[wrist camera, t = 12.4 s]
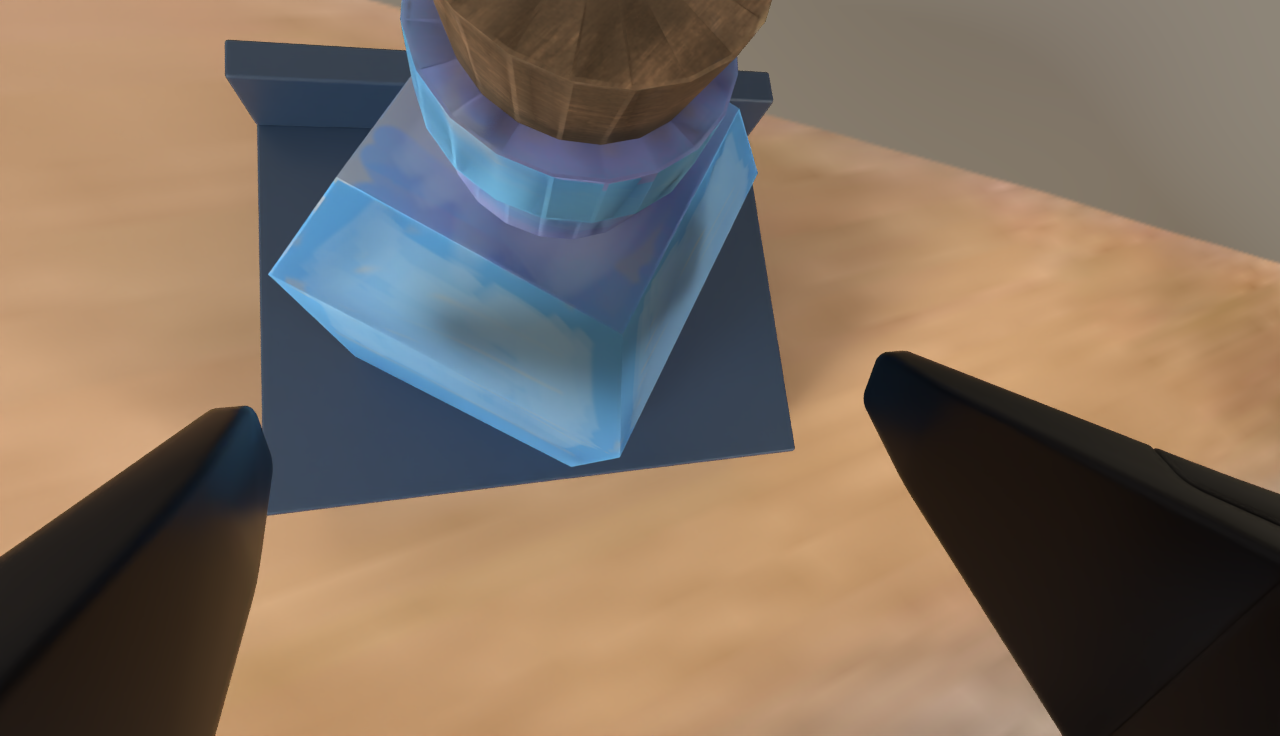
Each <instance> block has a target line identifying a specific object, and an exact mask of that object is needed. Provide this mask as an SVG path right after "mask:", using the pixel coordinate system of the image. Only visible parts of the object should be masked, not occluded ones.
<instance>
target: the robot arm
mask: <svg viewBox="0 0 1280 736" xmlns="http://www.w3.org/2000/svg"><path fill="white" fill-rule="evenodd" d="M864 405H865V408H866V410H867V412H868V414H869V416H870V418H871V420H872V422H873V424H874V426H875V428H876V430H877V432H878V434H879V436H880V438H881V440H882V442H883V444H884V446H885V448H886V450H887V452H888V454H889V456H890V458H891V460H892V462H893V464H894V466H895V468H896V470H897V472H898V474H899V476H900V478H901V479H902V481H903V483H904V485H905V487H906V488H907V490H908V492H909V493H910V495H911V497H912V498H913V500H914V501H915V503H916V505H917V506H918V508H919V509H920V511H921V512H922V514H923V516H924V517H925V519H926V520H927V522H928V524H929V525H930V527H931V528H932V530H933V531H934V533H935V535H936V536H937V538H938V539H939V541H940V543H941V544H942V546H943V547H944V549H945V550H946V552H947V554H948V555H949V557H950V558H951V560H952V562H953V563H954V565H955V566H956V568H957V569H958V571H959V573H960V574H961V576H962V577H963V579H964V580H965V582H966V584H967V585H968V587H969V588H970V590H971V592H972V593H973V595H974V596H975V598H976V599H977V601H978V603H979V604H980V606H981V607H982V609H983V611H984V612H985V614H986V615H987V617H988V618H989V620H990V622H991V623H992V625H993V626H994V628H995V630H996V631H997V633H998V634H999V636H1000V637H1001V639H1002V641H1003V642H1004V644H1005V645H1006V647H1007V649H1008V650H1009V652H1010V653H1011V655H1012V656H1013V658H1014V660H1015V661H1016V663H1017V664H1018V666H1019V668H1020V669H1021V671H1022V672H1023V674H1024V675H1025V677H1026V679H1027V680H1028V682H1029V683H1030V685H1031V686H1032V688H1033V690H1034V691H1035V693H1036V694H1037V696H1038V698H1039V699H1040V701H1041V702H1042V704H1043V705H1044V707H1045V709H1046V710H1047V712H1048V713H1049V715H1050V717H1051V718H1052V720H1053V721H1054V723H1055V724H1056V726H1057V728H1058V729H1059V731H1060V732H1061V734H1062V736H1280V494H1278V493H1275V492H1272V491H1270V490H1267V489H1264V488H1261V487H1259V486H1256V485H1253V484H1250V483H1247V482H1245V481H1242V480H1239V479H1236V478H1233V477H1231V476H1228V475H1226V474H1223V473H1220V472H1218V471H1215V470H1212V469H1210V468H1207V467H1204V466H1202V465H1199V464H1196V463H1194V462H1191V461H1189V460H1186V459H1183V458H1181V457H1178V456H1176V455H1173V454H1170V453H1168V452H1165V451H1163V450H1160V449H1157V448H1155V449H1153V448H1152V447H1151V446H1149V445H1147V444H1145V443H1142V442H1139V441H1137V440H1134V439H1132V438H1129V437H1127V436H1124V435H1121V434H1119V433H1116V432H1114V431H1111V430H1109V429H1106V428H1103V427H1101V426H1098V425H1096V424H1093V423H1091V422H1088V421H1085V420H1083V419H1080V418H1078V417H1075V416H1073V415H1070V414H1067V413H1065V412H1062V411H1060V410H1057V409H1055V408H1052V407H1050V406H1047V405H1044V404H1042V403H1039V402H1037V401H1034V400H1032V399H1029V398H1026V397H1024V396H1021V395H1019V394H1016V393H1014V392H1011V391H1008V390H1006V389H1003V388H1001V387H998V386H996V385H993V384H990V383H988V382H985V381H983V380H980V379H978V378H975V377H972V376H970V375H967V374H965V373H962V372H960V371H957V370H955V369H952V368H949V367H947V366H944V365H942V364H939V363H937V362H934V361H931V360H929V359H926V358H924V357H921V356H919V355H916V354H913V353H911V352H908V351H894V352H885V353H883V354H881V355H880V356H879V357H878V358H877V360H876V362H875V365H874V367H873V370H872V373H871V375H870V378H869V381H868V384H867V386H866V389H865V392H864ZM272 474H273V463H272V457H271V453H270V450H269V448H268V445H267V442H266V439H265V436H264V434H263V431H262V428H261V425H260V422H259V419H258V417H257V414H256V413H255V411H254V410H253V409H252V408H250V407H248V406H237V407H225V408H215V409H212V410H210V411H208V412H206V413H205V414H204V415H202V416H201V417H199V418H198V419H196V420H195V421H194V422H192V423H191V424H189V425H188V426H186V427H185V428H184V429H182V430H181V431H179V432H178V433H176V434H175V435H174V436H172V437H171V438H169V439H168V440H166V441H165V442H164V443H162V444H161V445H159V446H158V447H156V448H155V449H154V450H152V451H151V452H149V453H148V454H146V455H145V456H144V457H142V458H141V459H139V460H138V461H136V462H135V463H134V464H132V465H131V466H129V467H128V468H126V469H125V470H124V471H122V472H121V473H119V474H118V475H116V476H115V477H114V478H112V479H111V480H109V481H108V482H106V483H105V484H104V485H102V486H101V487H99V488H98V489H96V490H95V491H94V492H92V493H91V494H89V495H88V496H86V497H85V498H84V499H82V500H81V501H79V502H78V503H77V504H75V505H74V506H72V507H71V508H69V509H68V510H67V511H65V512H64V513H62V514H61V515H59V516H58V517H57V518H55V519H54V520H52V521H51V522H49V523H48V524H47V525H45V526H44V527H42V528H41V529H39V530H38V531H37V532H35V533H34V534H32V535H31V536H29V537H28V538H27V539H25V540H24V541H22V542H21V543H19V544H18V545H17V546H15V547H14V548H12V549H11V550H9V551H8V552H7V553H5V554H4V555H2V556H1V557H0V736H215V734H216V730H217V727H218V723H219V719H220V716H221V712H222V709H223V705H224V701H225V698H226V694H227V690H228V687H229V683H230V680H231V676H232V672H233V669H234V665H235V662H236V658H237V654H238V651H239V647H240V644H241V640H242V636H243V633H244V629H245V626H246V622H247V618H248V615H249V611H250V608H251V604H252V600H253V596H254V592H255V588H256V584H257V578H258V573H259V567H260V560H261V553H262V546H263V539H264V531H265V524H266V517H267V510H268V503H269V496H270V489H271V481H272Z"/></svg>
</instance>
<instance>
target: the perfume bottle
mask: <svg viewBox="0 0 1280 736" xmlns="http://www.w3.org/2000/svg"><path fill="white" fill-rule="evenodd" d="M771 2H772V0H402V2H401V15H400V20H401V26H402V31H403V36H404V41H405V46H406V52H407V57H408V62H409V67H410V72H411V77H410V78H409V79H408V81H407V82H406V83H405V85H404V86H403V87H402V89H401V90H400V91H399V93H398V94H397V95H396V97H395V98H394V100H393V101H392V102H391V104H390V105H389V106H388V108H387V109H386V110H385V112H384V113H383V114H382V116H381V117H380V118H379V120H378V121H377V123H376V124H375V125H374V127H373V128H372V129H371V131H370V132H369V133H368V135H367V136H366V137H365V139H364V140H363V142H362V143H361V144H360V146H359V147H358V148H357V150H356V151H355V152H354V154H353V155H352V156H351V158H350V159H349V160H348V162H347V163H346V165H345V166H344V167H343V169H342V170H341V171H340V173H339V174H338V175H337V177H336V178H335V180H334V181H333V182H332V184H331V185H330V187H329V188H328V190H327V191H326V192H325V194H324V195H323V197H322V198H321V200H320V201H319V202H318V204H317V205H316V207H315V208H314V210H313V211H312V212H311V214H310V215H309V217H308V218H307V220H306V221H305V223H304V224H303V225H302V227H301V228H300V230H299V231H298V233H297V234H296V235H295V237H294V238H293V240H292V241H291V243H290V244H289V245H288V247H287V248H286V250H285V251H284V253H283V254H282V255H281V257H280V258H279V260H278V261H277V263H276V264H275V265H274V267H273V268H272V270H271V271H270V273H269V274H268V275H269V276H270V277H271V278H273V279H274V280H275V281H276V282H277V283H278V284H279V285H280V286H281V287H282V288H283V289H284V290H285V291H286V292H287V293H288V294H290V295H291V296H292V297H293V298H294V299H295V300H296V301H297V302H298V303H299V304H300V305H301V306H302V307H303V308H304V309H305V310H306V311H308V312H309V313H310V314H311V315H312V316H313V317H314V318H315V319H316V320H317V321H318V322H319V323H320V324H321V325H322V326H323V327H324V328H326V329H327V330H328V331H329V332H330V333H331V334H332V335H333V336H334V337H335V338H336V339H337V340H338V341H339V342H340V343H341V344H343V345H344V346H345V347H346V348H347V349H348V350H349V351H350V352H351V353H352V354H353V355H354V356H355V357H357V358H359V359H361V360H363V361H365V362H367V363H369V364H371V365H373V366H375V367H377V368H379V369H381V370H383V371H385V372H387V373H389V374H391V375H392V376H394V377H396V378H398V379H400V380H402V381H404V382H406V383H408V384H410V385H412V386H414V387H416V388H418V389H420V390H422V391H424V392H426V393H428V394H430V395H432V396H434V397H435V398H437V399H439V400H441V401H443V402H445V403H447V404H449V405H451V406H453V407H455V408H457V409H459V410H461V411H463V412H465V413H467V414H469V415H471V416H473V417H475V418H476V419H478V420H480V421H482V422H484V423H486V424H488V425H490V426H492V427H494V428H496V429H498V430H500V431H502V432H504V433H506V434H508V435H510V436H512V437H514V438H516V439H518V440H519V441H521V442H523V443H525V444H527V445H529V446H531V447H533V448H535V449H537V450H539V451H541V452H543V453H545V454H547V455H549V456H551V457H553V458H555V459H557V460H559V461H560V462H562V463H564V464H566V465H568V466H570V467H574V466H579V465H584V464H589V463H594V462H599V461H604V460H609V459H614V458H619V457H620V456H621V454H622V452H623V450H624V448H625V445H626V443H627V441H628V439H629V437H630V435H631V433H632V431H633V429H634V427H635V425H636V423H637V421H638V419H639V417H640V415H641V413H642V410H643V408H644V406H645V404H646V402H647V400H648V398H649V396H650V394H651V392H652V390H653V388H654V386H655V384H656V382H657V380H658V378H659V375H660V373H661V371H662V369H663V367H664V365H665V363H666V361H667V359H668V357H669V355H670V353H671V351H672V349H673V347H674V345H675V342H676V340H677V338H678V336H679V334H680V332H681V330H682V328H683V326H684V324H685V322H686V320H687V318H688V316H689V314H690V312H691V310H692V307H693V305H694V303H695V301H696V299H697V297H698V295H699V293H700V291H701V289H702V287H703V285H704V283H705V281H706V279H707V277H708V275H709V272H710V270H711V268H712V266H713V264H714V262H715V260H716V258H717V256H718V254H719V252H720V250H721V248H722V246H723V244H724V242H725V239H726V237H727V235H728V233H729V231H730V229H731V227H732V225H733V223H734V221H735V219H736V217H737V215H738V213H739V211H740V209H741V207H742V204H743V202H744V200H745V198H746V196H747V194H748V192H749V190H750V188H751V186H752V184H753V182H754V180H755V178H756V176H757V174H758V172H757V168H756V165H755V162H754V158H753V155H752V151H751V148H750V144H749V141H748V137H747V134H746V130H745V127H744V123H743V120H742V116H741V113H740V109H739V108H738V107H736V106H734V105H733V104H731V103H730V99H731V96H732V92H733V89H734V86H735V82H736V79H737V76H738V64H737V63H738V62H737V56H738V54H739V53H740V52H741V51H742V49H743V48H744V47H745V46H746V45H747V44H748V42H749V41H750V40H751V39H752V37H753V36H754V35H755V34H756V33H757V31H758V30H759V29H760V28H761V26H762V25H763V24H764V23H765V21H766V18H767V15H768V12H769V8H770V5H771Z"/></svg>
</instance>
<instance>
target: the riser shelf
mask: <svg viewBox="0 0 1280 736" xmlns="http://www.w3.org/2000/svg"><path fill="white" fill-rule="evenodd" d="M225 76H226V78H227V80H228V81H229V83H230V84H231V86H232V87H233V89H234V91H235V92H236V94H237V95H238V97H239V98H240V100H241V101H242V103H243V104H244V106H245V107H246V109H247V111H248V112H249V114H250V115H251V117H252V118H253V120H254V121H255V123H256V124H257V146H258V205H259V265H260V325H261V384H262V431H263V434H264V436H265V439H266V442H267V445H268V448H269V450H270V453H271V457H272V463H273V474H272V481H271V489H270V496H269V503H268V510H267V516H269V515H277V514H285V513H293V512H301V511H309V510H317V509H325V508H334V507H342V506H350V505H358V504H366V503H374V502H382V501H390V500H398V499H406V498H415V497H423V496H431V495H439V494H447V493H455V492H463V491H471V490H479V489H487V488H496V487H504V486H512V485H520V484H528V483H536V482H544V481H552V480H560V479H568V478H576V477H585V476H593V475H601V474H609V473H617V472H625V471H633V470H641V469H649V468H657V467H666V466H674V465H682V464H690V463H698V462H706V461H714V460H722V459H730V458H738V457H747V456H755V455H763V454H771V453H779V452H787V451H793V450H794V449H795V446H794V440H793V433H792V427H791V421H790V415H789V409H788V402H787V396H786V390H785V384H784V377H783V371H782V365H781V359H780V352H779V346H778V340H777V334H776V328H775V321H774V315H773V309H772V303H771V296H770V290H769V284H768V278H767V272H766V265H765V259H764V253H763V247H762V240H761V234H760V228H759V222H758V216H757V209H756V203H755V197H754V191H753V184H752V186H751V188H750V190H749V192H748V194H747V196H746V198H745V200H744V202H743V204H742V207H741V209H740V211H739V213H738V215H737V217H736V219H735V221H734V223H733V225H732V227H731V229H730V231H729V233H728V235H727V237H726V239H725V242H724V244H723V246H722V248H721V250H720V252H719V254H718V256H717V258H716V260H715V262H714V264H713V266H712V268H711V270H710V272H709V275H708V277H707V279H706V281H705V283H704V285H703V287H702V289H701V291H700V293H699V295H698V297H697V299H696V301H695V303H694V305H693V307H692V310H691V312H690V314H689V316H688V318H687V320H686V322H685V324H684V326H683V328H682V330H681V332H680V334H679V336H678V338H677V340H676V342H675V345H674V347H673V349H672V351H671V353H670V355H669V357H668V359H667V361H666V363H665V365H664V367H663V369H662V371H661V373H660V375H659V378H658V380H657V382H656V384H655V386H654V388H653V390H652V392H651V394H650V396H649V398H648V400H647V402H646V404H645V406H644V408H643V410H642V413H641V415H640V417H639V419H638V421H637V423H636V425H635V427H634V429H633V431H632V433H631V435H630V437H629V439H628V441H627V443H626V445H625V448H624V450H623V452H622V454H621V456H620V457H619V458H614V459H609V460H604V461H599V462H594V463H589V464H584V465H579V466H574V467H570V466H568V465H566V464H564V463H562V462H560V461H559V460H557V459H555V458H553V457H551V456H549V455H547V454H545V453H543V452H541V451H539V450H537V449H535V448H533V447H531V446H529V445H527V444H525V443H523V442H521V441H519V440H518V439H516V438H514V437H512V436H510V435H508V434H506V433H504V432H502V431H500V430H498V429H496V428H494V427H492V426H490V425H488V424H486V423H484V422H482V421H480V420H478V419H476V418H475V417H473V416H471V415H469V414H467V413H465V412H463V411H461V410H459V409H457V408H455V407H453V406H451V405H449V404H447V403H445V402H443V401H441V400H439V399H437V398H435V397H434V396H432V395H430V394H428V393H426V392H424V391H422V390H420V389H418V388H416V387H414V386H412V385H410V384H408V383H406V382H404V381H402V380H400V379H398V378H396V377H394V376H392V375H391V374H389V373H387V372H385V371H383V370H381V369H379V368H377V367H375V366H373V365H371V364H369V363H367V362H365V361H363V360H361V359H359V358H357V357H355V356H354V355H353V354H352V353H351V352H350V351H349V350H348V349H347V348H346V347H345V346H344V345H343V344H341V343H340V342H339V341H338V340H337V339H336V338H335V337H334V336H333V335H332V334H331V333H330V332H329V331H328V330H327V329H326V328H324V327H323V326H322V325H321V324H320V323H319V322H318V321H317V320H316V319H315V318H314V317H313V316H312V315H311V314H310V313H309V312H308V311H306V310H305V309H304V308H303V307H302V306H301V305H300V304H299V303H298V302H297V301H296V300H295V299H294V298H293V297H292V296H291V295H290V294H288V293H287V292H286V291H285V290H284V289H283V288H282V287H281V286H280V285H279V284H278V283H277V282H276V281H275V280H274V279H273V278H271V277H270V276H269V275H268V274H269V273H270V271H271V270H272V268H273V267H274V265H275V264H276V263H277V261H278V260H279V258H280V257H281V255H282V254H283V253H284V251H285V250H286V248H287V247H288V245H289V244H290V243H291V241H292V240H293V238H294V237H295V235H296V234H297V233H298V231H299V230H300V228H301V227H302V225H303V224H304V223H305V221H306V220H307V218H308V217H309V215H310V214H311V212H312V211H313V210H314V208H315V207H316V205H317V204H318V202H319V201H320V200H321V198H322V197H323V195H324V194H325V192H326V191H327V190H328V188H329V187H330V185H331V184H332V182H333V181H334V180H335V178H336V177H337V175H338V174H339V173H340V171H341V170H342V169H343V167H344V166H345V165H346V163H347V162H348V160H349V159H350V158H351V156H352V155H353V154H354V152H355V151H356V150H357V148H358V147H359V146H360V144H361V143H362V142H363V140H364V139H365V137H366V136H367V135H368V133H369V132H370V131H371V129H372V128H373V127H374V125H375V124H376V123H377V121H378V120H379V118H380V117H381V116H382V114H383V113H384V112H385V110H386V109H387V108H388V106H389V105H390V104H391V102H392V101H393V100H394V98H395V97H396V95H397V94H398V93H399V91H400V90H401V89H402V87H403V86H404V85H405V83H406V82H407V81H408V79H409V78H410V77H411V72H410V67H409V62H408V57H407V52H406V51H405V50H389V49H372V48H356V47H339V46H323V45H306V44H289V43H273V42H256V41H240V40H226V41H225ZM772 102H773V96H772V91H771V85H770V79H769V74H768V73H767V72H753V71H738V76H737V79H736V82H735V86H734V89H733V92H732V96H731V99H730V103H731V104H733V105H734V106H736V107H738V108H739V109H740V113H741V116H742V120H743V123H744V127H745V130H746V134H747V136H748V135H749V134H750V132H751V131H752V130H753V128H754V127H755V126H756V124H757V123H758V122H759V120H760V119H761V118H762V116H763V115H764V114H765V112H766V111H767V110H768V108H769V107H770V105H771V104H772Z"/></svg>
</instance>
